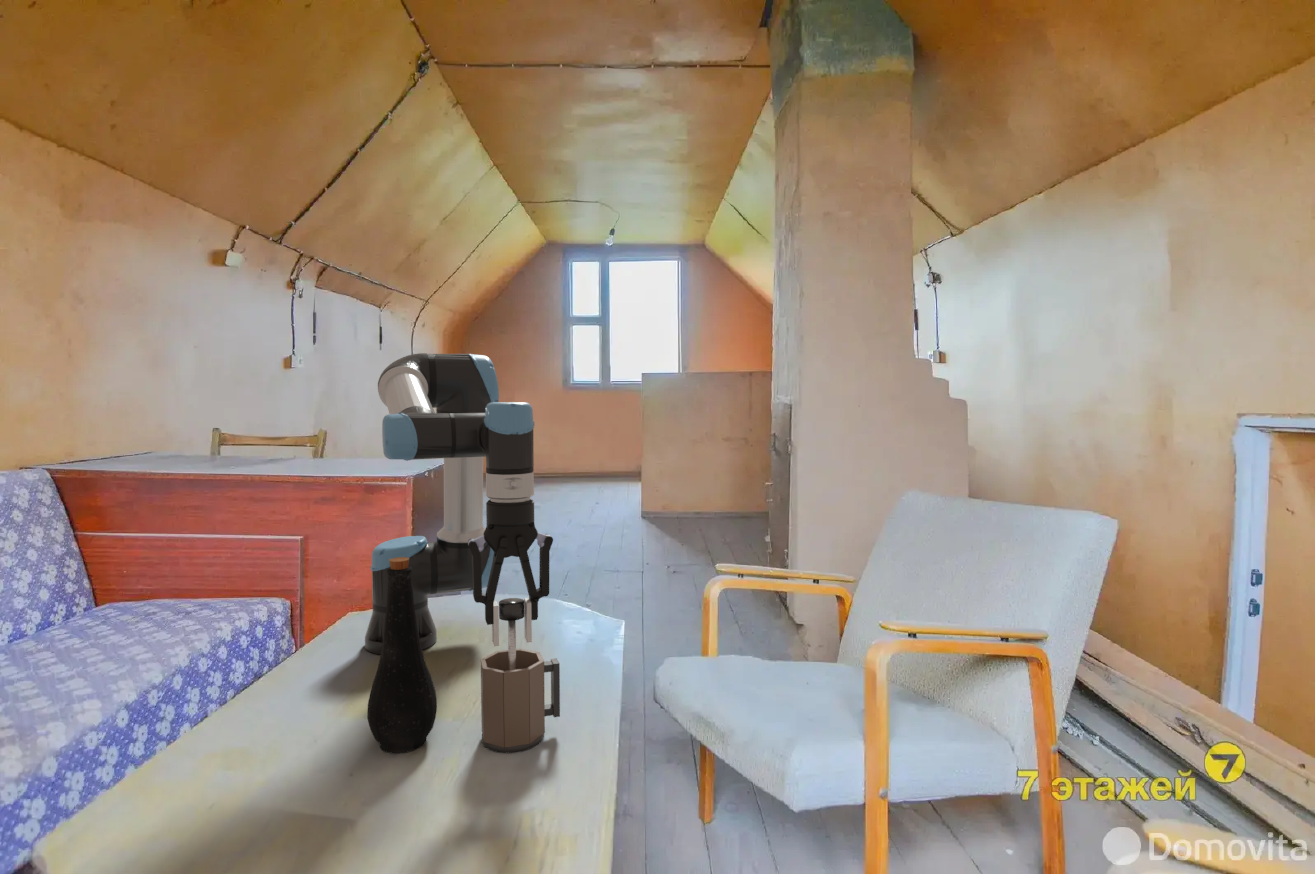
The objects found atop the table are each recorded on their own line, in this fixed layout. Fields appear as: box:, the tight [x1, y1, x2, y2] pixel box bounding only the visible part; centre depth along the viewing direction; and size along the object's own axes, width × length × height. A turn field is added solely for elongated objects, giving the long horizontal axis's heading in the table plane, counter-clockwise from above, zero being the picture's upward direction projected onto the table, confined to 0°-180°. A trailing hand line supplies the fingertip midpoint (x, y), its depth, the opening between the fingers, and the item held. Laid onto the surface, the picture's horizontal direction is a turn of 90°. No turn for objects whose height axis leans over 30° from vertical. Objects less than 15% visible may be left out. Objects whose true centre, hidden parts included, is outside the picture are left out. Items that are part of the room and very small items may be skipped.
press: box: [480, 648, 561, 754], centre depth 118 cm, size 10×12×13 cm
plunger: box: [498, 597, 524, 670], centre depth 118 cm, size 7×7×21 cm
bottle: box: [367, 557, 438, 755], centre depth 116 cm, size 11×11×30 cm
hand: (512, 640), depth 117 cm, fingers open, 4 cm apart
